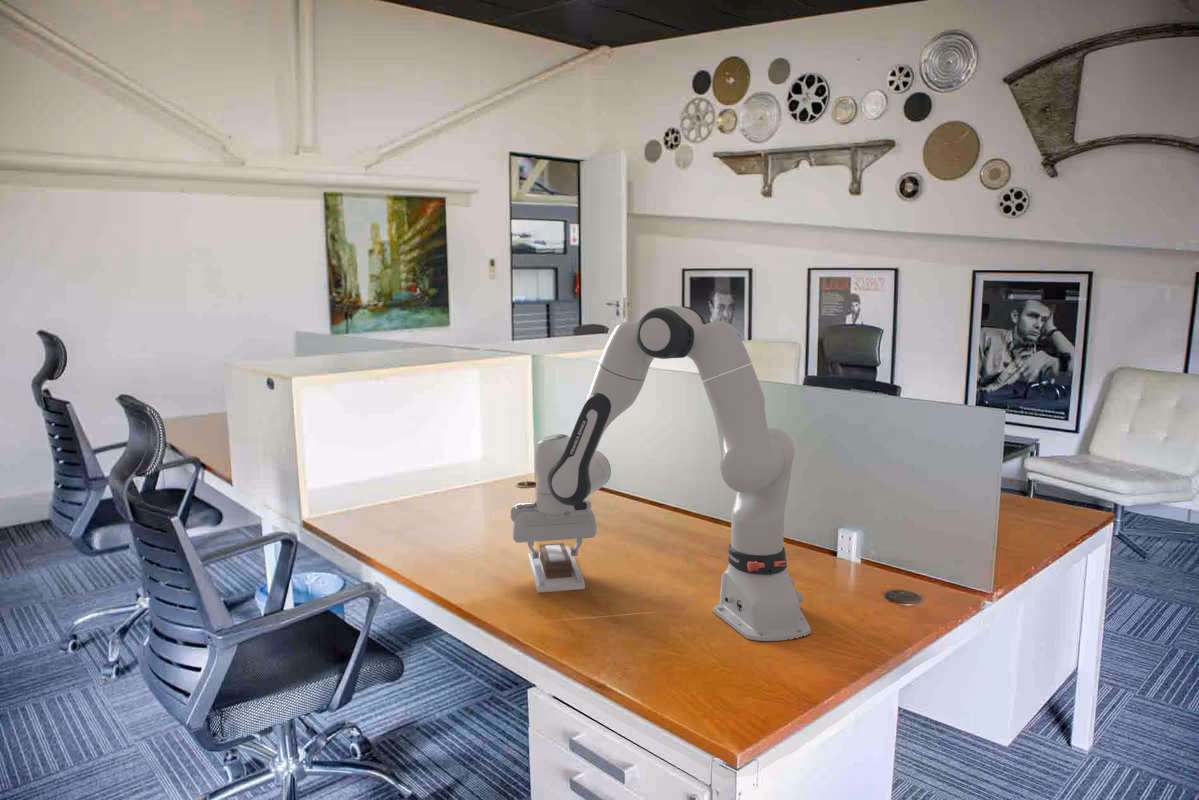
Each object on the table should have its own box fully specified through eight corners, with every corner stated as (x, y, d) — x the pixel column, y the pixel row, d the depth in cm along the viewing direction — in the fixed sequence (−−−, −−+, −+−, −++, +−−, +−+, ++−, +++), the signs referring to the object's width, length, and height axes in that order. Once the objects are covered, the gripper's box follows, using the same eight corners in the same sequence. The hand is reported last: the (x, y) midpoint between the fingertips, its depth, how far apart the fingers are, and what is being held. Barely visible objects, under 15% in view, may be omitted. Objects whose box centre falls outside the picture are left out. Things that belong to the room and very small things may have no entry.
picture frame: (571, 577, 192) (571, 562, 192) (546, 579, 191) (546, 563, 191) (563, 556, 206) (563, 542, 205) (539, 558, 205) (539, 544, 204)
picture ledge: (584, 588, 189) (584, 577, 189) (537, 592, 187) (537, 581, 187) (570, 555, 210) (570, 545, 210) (528, 558, 208) (528, 548, 208)
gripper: (511, 508, 191) (513, 564, 193) (597, 502, 194) (598, 558, 197) (509, 500, 197) (510, 555, 199) (593, 495, 201) (593, 549, 203)
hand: (555, 556), depth 198 cm, fingers open, 8 cm apart
